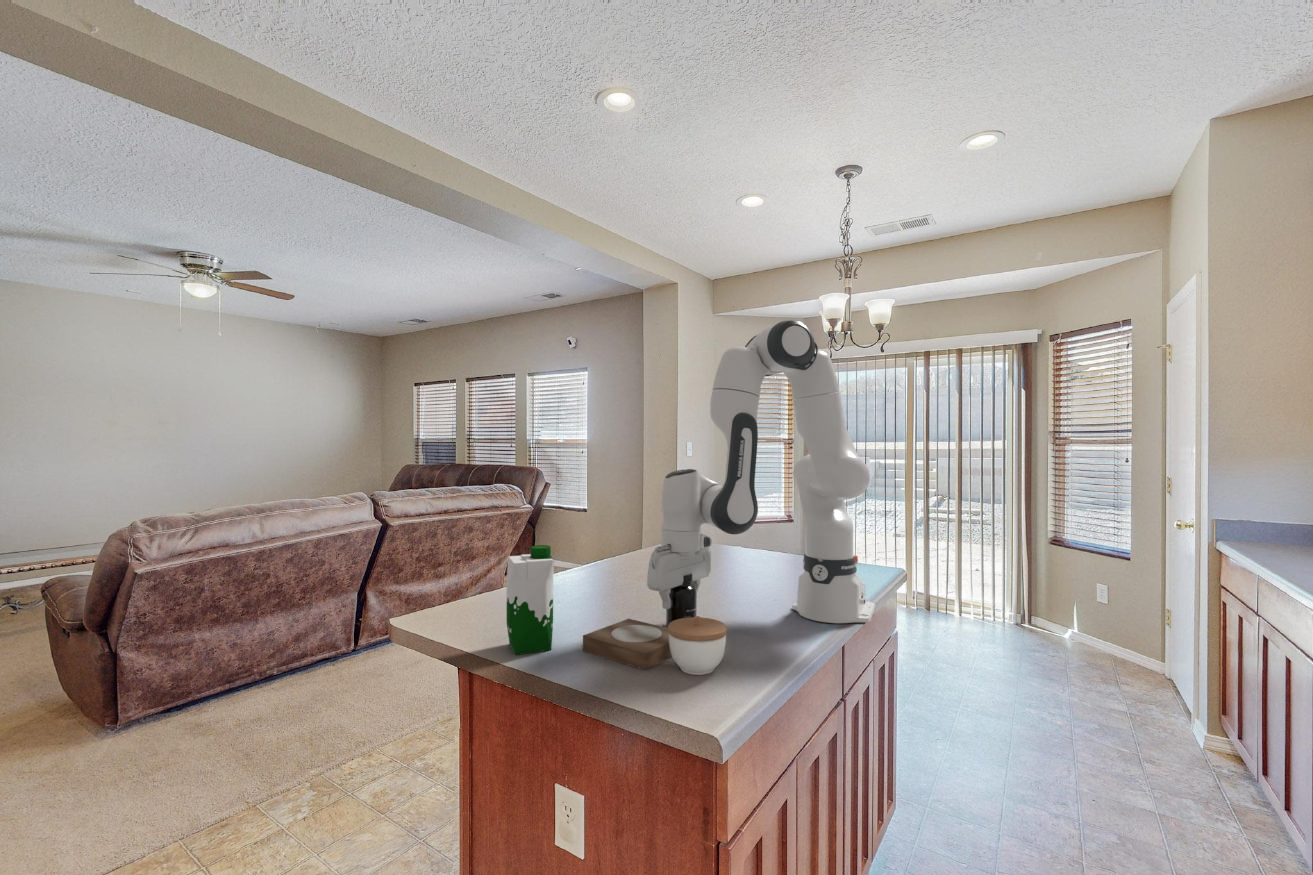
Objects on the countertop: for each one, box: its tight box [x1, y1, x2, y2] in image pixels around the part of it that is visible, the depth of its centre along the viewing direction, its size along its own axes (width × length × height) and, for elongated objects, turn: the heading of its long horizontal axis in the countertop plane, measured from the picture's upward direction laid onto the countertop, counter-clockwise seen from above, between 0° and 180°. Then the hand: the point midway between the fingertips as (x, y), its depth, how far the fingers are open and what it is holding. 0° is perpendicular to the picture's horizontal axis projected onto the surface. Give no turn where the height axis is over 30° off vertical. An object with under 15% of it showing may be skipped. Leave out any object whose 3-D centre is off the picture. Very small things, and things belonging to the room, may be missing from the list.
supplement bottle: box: [665, 573, 698, 628], centre depth 127 cm, size 7×7×12 cm
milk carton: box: [506, 544, 555, 656], centre depth 115 cm, size 9×9×20 cm
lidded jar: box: [667, 615, 728, 676], centre depth 104 cm, size 11×11×9 cm
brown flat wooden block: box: [582, 618, 673, 671], centre depth 113 cm, size 14×16×3 cm
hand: (680, 603), depth 127 cm, fingers open, 8 cm apart
